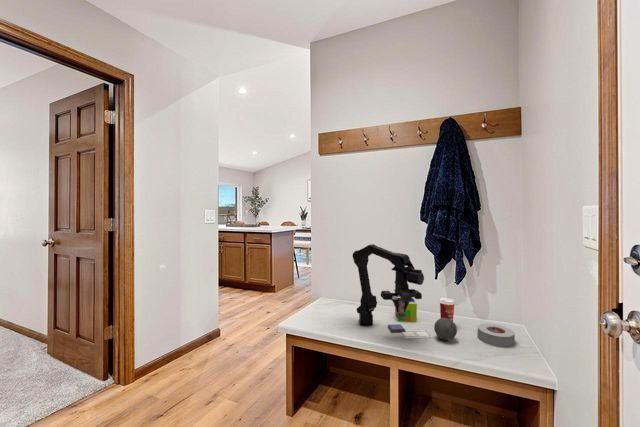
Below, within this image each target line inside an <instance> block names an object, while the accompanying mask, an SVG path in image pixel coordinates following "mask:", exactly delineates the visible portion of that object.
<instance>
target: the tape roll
mask: <svg viewBox="0 0 640 427" xmlns="http://www.w3.org/2000/svg"><path fill="white" fill-rule="evenodd" d="M515 335H516V333H515V331H514V330H512V329H511V328H510V327H506V326H502V325H500V324H495V323H480V324H478V325H477V339H478V340H479V341H481V342H483V343H484V344H486V345H489V346H494V347H499V348H511V347H513V346H515Z"/></svg>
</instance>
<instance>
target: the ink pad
mask: <svg viewBox="0 0 640 427" xmlns="http://www.w3.org/2000/svg"><path fill="white" fill-rule="evenodd" d="M387 329H388V330H389V331H390V333H391V334H394V333H395V334H397V333H400V334H402V333H401V332H405V331H406V329H405V328H404V326H403V325H402V324H401V323H396V324H394V323H392V324H387Z"/></svg>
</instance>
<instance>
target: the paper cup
mask: <svg viewBox="0 0 640 427" xmlns="http://www.w3.org/2000/svg"><path fill="white" fill-rule="evenodd" d="M455 304H456V302H455V300H454V299H452V298H450V297H441V298H440V299H439V309H440V310H439V311H440V315H439V316H440V319H441V318H448V319H450V320H452V321H453V322H454V314H455Z"/></svg>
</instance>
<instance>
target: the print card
mask: <svg viewBox="0 0 640 427" xmlns="http://www.w3.org/2000/svg"><path fill="white" fill-rule="evenodd" d="M400 334H402V335H403V336H404V338H405V339H426V338H427V339H429V338H430V339H431V338H433V336H432V335H431V334H430V333H429V332H428V331H427V330H422V329H421V330H405V332H401V333H400Z"/></svg>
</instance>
